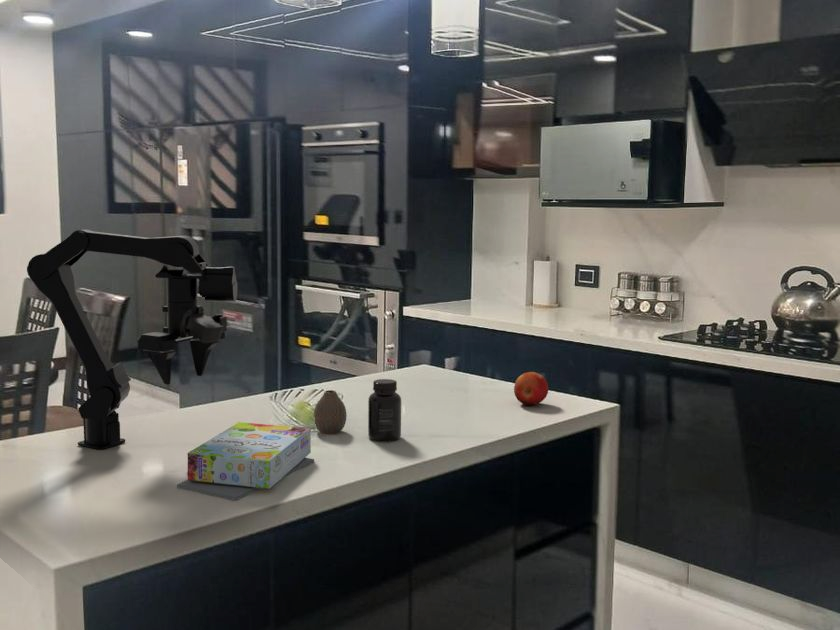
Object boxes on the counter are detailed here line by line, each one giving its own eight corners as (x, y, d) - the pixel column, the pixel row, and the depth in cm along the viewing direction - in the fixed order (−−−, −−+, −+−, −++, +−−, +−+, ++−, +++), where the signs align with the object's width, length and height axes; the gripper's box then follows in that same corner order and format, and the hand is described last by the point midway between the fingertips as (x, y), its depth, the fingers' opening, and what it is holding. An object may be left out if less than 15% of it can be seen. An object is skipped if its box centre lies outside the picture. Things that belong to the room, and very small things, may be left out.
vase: (332, 438, 173) (333, 396, 172) (306, 433, 177) (306, 392, 176) (352, 431, 179) (353, 390, 178) (327, 425, 183) (327, 386, 182)
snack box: (186, 484, 143) (269, 490, 140) (185, 452, 142) (269, 458, 139) (239, 448, 164) (312, 453, 160) (238, 420, 163) (312, 424, 160)
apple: (551, 403, 207) (553, 372, 206) (537, 410, 200) (539, 377, 199) (522, 399, 211) (523, 367, 210) (507, 405, 204) (508, 373, 203)
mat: (176, 487, 142) (176, 484, 142) (259, 452, 163) (259, 449, 163) (236, 500, 137) (236, 497, 137) (314, 462, 158) (314, 459, 157)
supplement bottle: (406, 436, 176) (407, 379, 175) (391, 444, 170) (392, 386, 169) (377, 431, 179) (378, 376, 178) (361, 439, 173) (362, 382, 171)
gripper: (181, 309, 151) (182, 394, 154) (246, 299, 168) (246, 376, 170) (134, 305, 156) (136, 387, 158) (202, 295, 173) (203, 370, 175)
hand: (183, 379), depth 165 cm, fingers open, 9 cm apart
